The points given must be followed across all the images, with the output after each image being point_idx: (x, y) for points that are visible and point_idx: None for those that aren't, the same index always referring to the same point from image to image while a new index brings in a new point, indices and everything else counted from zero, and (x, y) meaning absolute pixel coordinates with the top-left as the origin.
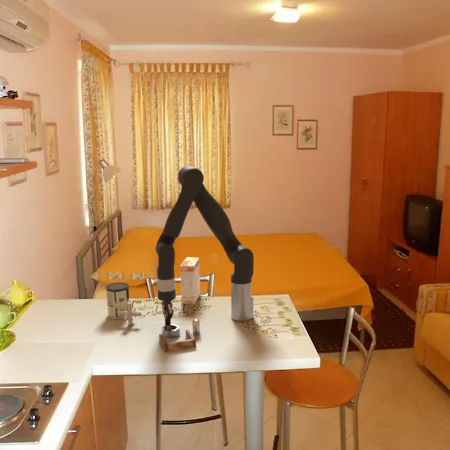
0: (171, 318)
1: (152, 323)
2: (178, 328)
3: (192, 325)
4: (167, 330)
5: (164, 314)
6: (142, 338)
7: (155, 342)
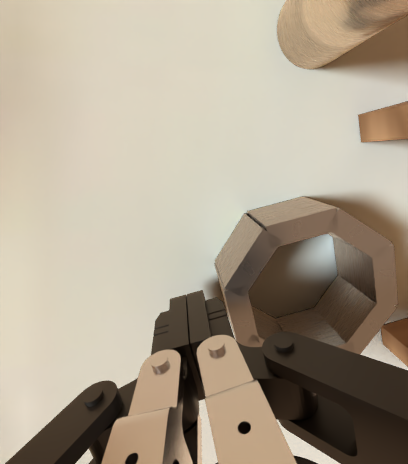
0: (296, 340)
1: (50, 418)
2: (354, 219)
3: (369, 33)
4: (371, 323)
5: (196, 456)
6: (307, 444)
7: (390, 364)
